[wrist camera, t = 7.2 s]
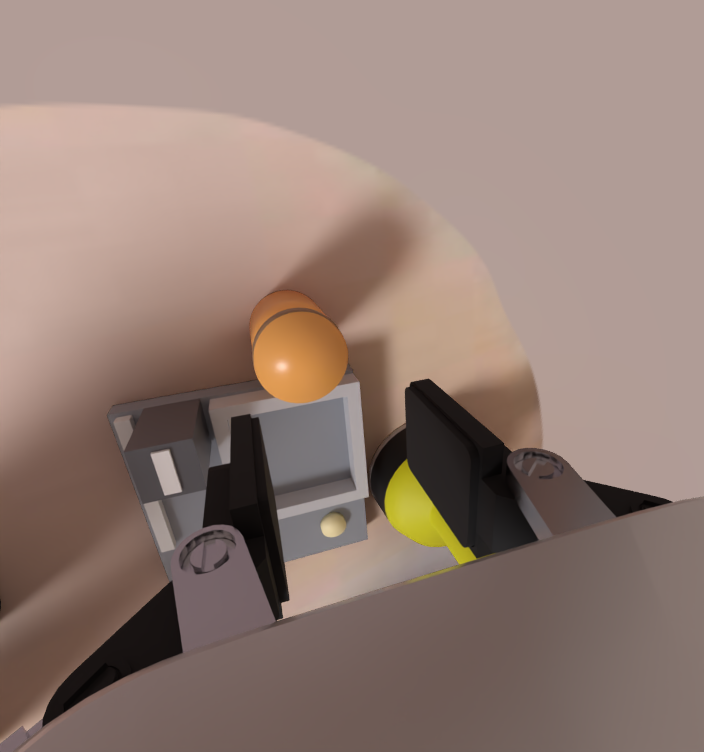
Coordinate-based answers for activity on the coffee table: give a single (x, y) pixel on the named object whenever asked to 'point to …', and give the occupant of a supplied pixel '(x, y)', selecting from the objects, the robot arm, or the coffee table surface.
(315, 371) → the cap
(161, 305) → the coffee table surface
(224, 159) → the coffee table surface
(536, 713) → the robot arm
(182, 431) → the breaker toggle
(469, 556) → the flashlight
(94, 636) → the coffee table surface
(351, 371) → the board
